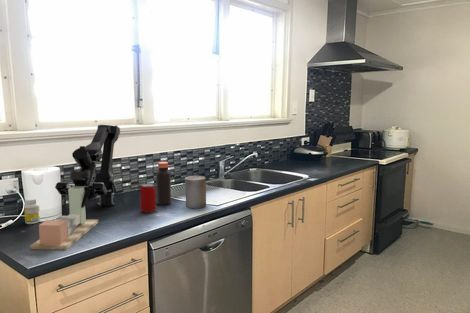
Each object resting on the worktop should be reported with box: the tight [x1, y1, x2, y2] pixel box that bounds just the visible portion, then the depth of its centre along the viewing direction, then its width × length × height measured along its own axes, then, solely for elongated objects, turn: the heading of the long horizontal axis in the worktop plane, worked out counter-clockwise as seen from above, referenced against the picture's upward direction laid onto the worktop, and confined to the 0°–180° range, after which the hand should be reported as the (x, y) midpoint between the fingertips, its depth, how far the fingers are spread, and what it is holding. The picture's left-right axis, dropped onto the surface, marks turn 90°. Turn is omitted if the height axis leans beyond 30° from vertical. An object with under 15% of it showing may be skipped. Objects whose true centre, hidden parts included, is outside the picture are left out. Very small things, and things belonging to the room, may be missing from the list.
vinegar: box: [155, 161, 172, 206], centre depth 178 cm, size 7×7×20 cm
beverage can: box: [139, 183, 157, 213], centre depth 166 cm, size 7×7×12 cm
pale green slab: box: [67, 187, 86, 226], centre depth 137 cm, size 17×4×14 cm, turn 179°
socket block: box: [38, 219, 68, 244], centre depth 125 cm, size 5×7×7 cm
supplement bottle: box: [23, 198, 41, 225], centre depth 149 cm, size 5×5×10 cm
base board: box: [29, 215, 99, 251], centre depth 136 cm, size 28×12×7 cm, turn 179°
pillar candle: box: [184, 175, 207, 209], centre depth 174 cm, size 10×10×15 cm
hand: (75, 207), depth 142 cm, fingers closed on pale green slab, 4 cm apart
